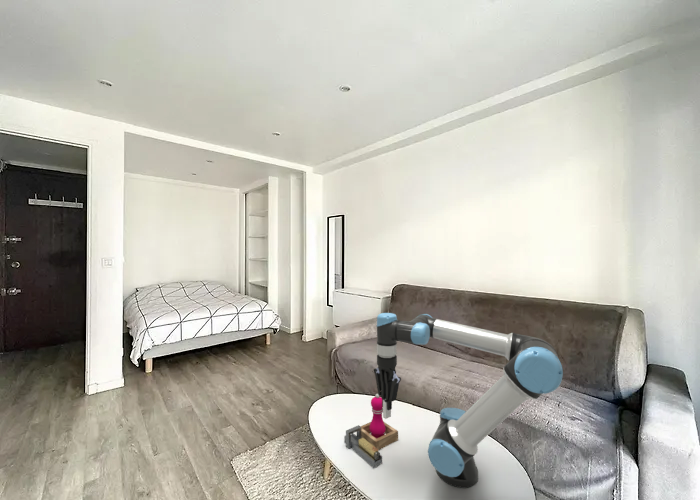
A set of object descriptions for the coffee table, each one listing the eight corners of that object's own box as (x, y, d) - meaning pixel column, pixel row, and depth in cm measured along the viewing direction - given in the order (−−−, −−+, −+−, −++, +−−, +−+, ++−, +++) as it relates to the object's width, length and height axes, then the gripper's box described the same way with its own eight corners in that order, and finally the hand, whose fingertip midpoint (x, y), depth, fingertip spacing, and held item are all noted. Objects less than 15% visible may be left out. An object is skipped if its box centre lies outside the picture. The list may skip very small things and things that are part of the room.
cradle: (398, 440, 136) (398, 431, 136) (376, 451, 129) (376, 441, 129) (378, 426, 147) (378, 418, 147) (357, 436, 139) (357, 427, 139)
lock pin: (380, 458, 121) (380, 450, 121) (375, 461, 119) (374, 453, 119) (363, 444, 130) (363, 437, 130) (358, 447, 128) (358, 439, 128)
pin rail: (384, 462, 122) (384, 444, 122) (371, 469, 118) (371, 451, 118) (354, 437, 138) (354, 422, 138) (342, 443, 134) (341, 427, 134)
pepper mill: (372, 444, 133) (372, 398, 133) (367, 435, 140) (367, 391, 140) (388, 441, 135) (388, 396, 135) (382, 432, 142) (381, 389, 142)
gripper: (406, 357, 113) (406, 421, 113) (382, 348, 123) (382, 406, 123) (391, 361, 108) (391, 428, 108) (368, 352, 119) (368, 412, 119)
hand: (387, 416), depth 116 cm, fingers closed
